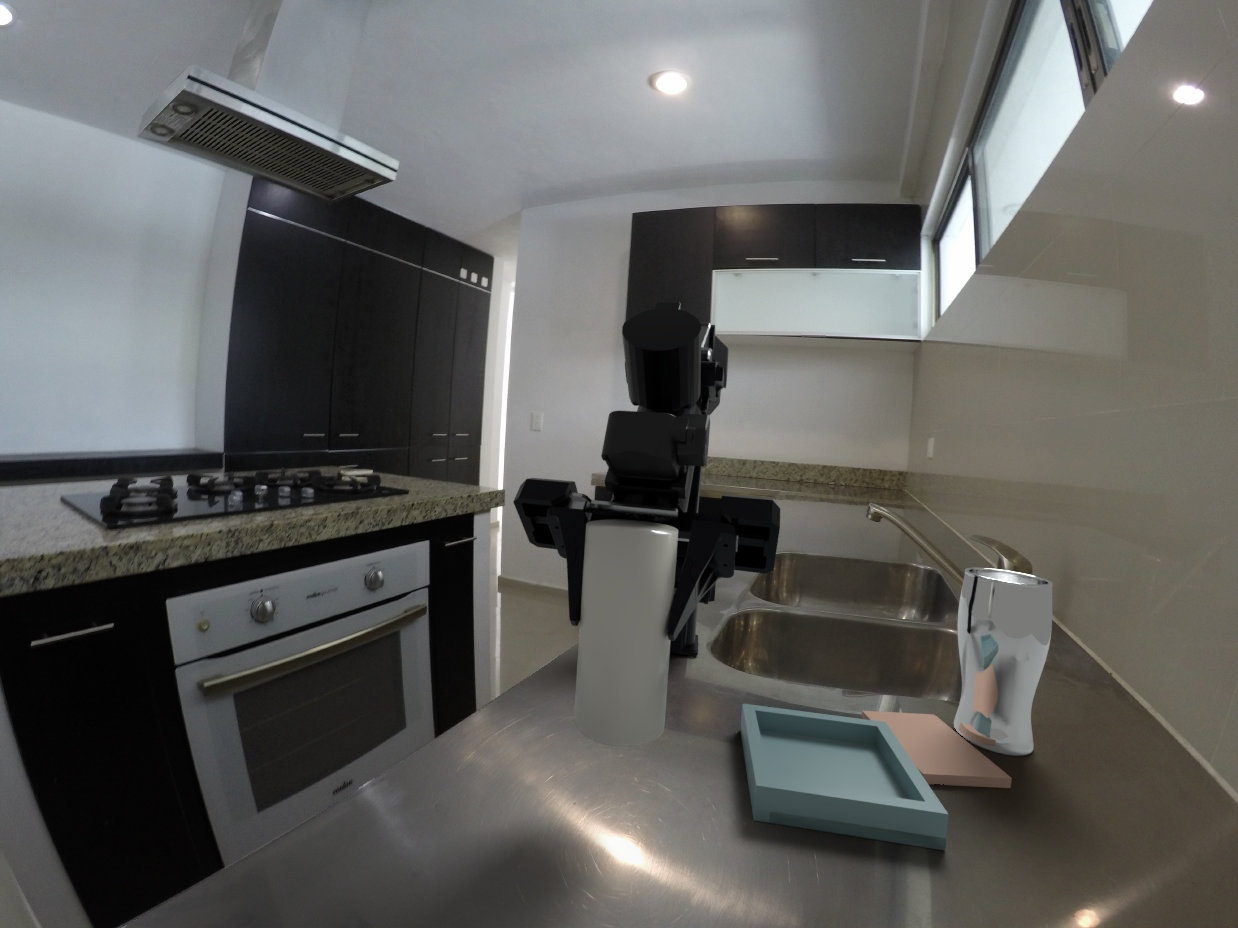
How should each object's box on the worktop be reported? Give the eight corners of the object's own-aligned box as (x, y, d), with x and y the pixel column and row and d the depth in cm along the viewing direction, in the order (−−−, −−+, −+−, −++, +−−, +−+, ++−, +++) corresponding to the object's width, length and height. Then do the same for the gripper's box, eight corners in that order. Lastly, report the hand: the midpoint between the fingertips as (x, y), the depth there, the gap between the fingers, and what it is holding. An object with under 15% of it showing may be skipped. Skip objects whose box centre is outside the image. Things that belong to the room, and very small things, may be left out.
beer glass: (997, 762, 46) (1014, 585, 46) (930, 721, 53) (944, 566, 53) (1059, 755, 48) (1076, 585, 48) (987, 716, 55) (1001, 566, 54)
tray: (740, 729, 49) (742, 703, 49) (883, 749, 47) (885, 721, 47) (753, 819, 37) (756, 785, 37) (945, 850, 35) (948, 813, 35)
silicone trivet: (861, 718, 53) (862, 710, 53) (933, 722, 53) (934, 714, 53) (922, 783, 43) (923, 773, 43) (1010, 787, 43) (1011, 777, 43)
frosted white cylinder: (584, 694, 40) (595, 516, 39) (667, 706, 39) (680, 524, 39) (563, 738, 34) (576, 529, 34) (660, 752, 33) (676, 539, 33)
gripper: (531, 370, 42) (444, 540, 31) (790, 380, 37) (787, 580, 27) (560, 470, 50) (498, 631, 39) (775, 488, 45) (769, 673, 35)
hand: (620, 629), depth 35 cm, fingers closed on frosted white cylinder, 6 cm apart
